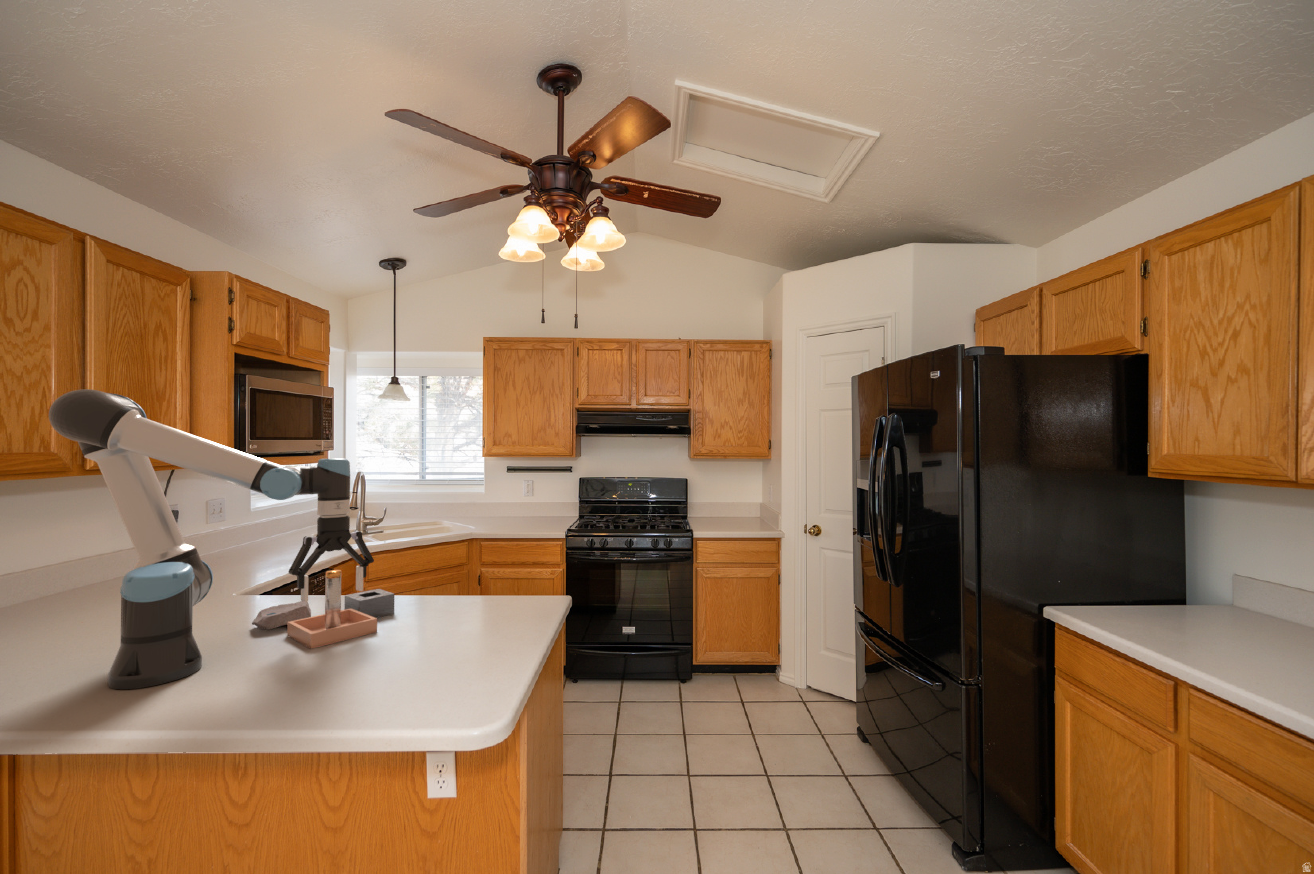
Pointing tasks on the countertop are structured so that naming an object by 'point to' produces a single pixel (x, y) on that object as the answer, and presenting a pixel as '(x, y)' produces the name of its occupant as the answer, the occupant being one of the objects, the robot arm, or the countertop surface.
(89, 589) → the countertop surface
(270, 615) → the decorative stone
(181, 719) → the countertop surface
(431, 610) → the countertop surface
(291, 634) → the tray
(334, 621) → the pin
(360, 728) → the countertop surface
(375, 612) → the block
